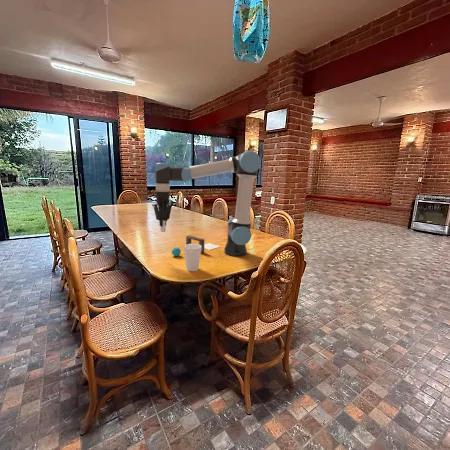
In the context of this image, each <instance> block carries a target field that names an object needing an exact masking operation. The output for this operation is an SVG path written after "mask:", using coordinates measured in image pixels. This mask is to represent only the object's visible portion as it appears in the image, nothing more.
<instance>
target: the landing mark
mask: <svg viewBox="0 0 450 450" xmlns="http://www.w3.org/2000/svg"><path fill="white" fill-rule="evenodd" d="M221 247H222V246H221V245H217V244H213V243H210V242H209V243H204V250H208V251H212V250H215V249H218V248H221Z"/></svg>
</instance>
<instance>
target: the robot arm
mask: <svg viewBox="0 0 450 450" xmlns="http://www.w3.org/2000/svg"><path fill="white" fill-rule="evenodd" d="M261 163H262V162H261V157H260V155H259V154H258V153H257V152H256V151H254V150H253V151H252V150H246V151H244V152H242V153H240V154H238V155H236V156H231V157H229V159H224V160H218V161H214V162H207V163H203V164H202V163H201V164H197V165H192V166H186V167H185V166H184V167H175V166H174V167H173V166H170V163H168V162H157V163H156V164H155V171H154V172H155V198H156V200H155V201H154V203H152V204H151V206H152V207H153V210H154V216H155V219H156V221H157V220H158V221H159V227H160V232H161V233H166V227H167V222H168V220H169V219H170V217H171V212H172V207H173V205H174V203H173V202H171V201H170V190H171V189H170V188H171V185H170V184H171V183H170V182H190V181H192V180H194V179H198V178H204V177H208V176H209V177H210V176H215V175H220V174H226V173H233V174H234V173H235V174H236V176H237V177H238V186H237V192H236V194H237V195H236V205H235V211H234V212H235V213H234V218H229V219H228V220H227V241H226V243H225V247H224V251H223V253H224V254H225V255H227V256H232V257H243V256H246V255H247V253H248V249H247V246H246V244H248V243H249V242H250V241H251V240H252V239H251V238H252V232H251V229H252V228H251V227H252V222H251V221H250V213H251V208H252V207H251V206H252V197H253V192H254V191H253V190H254V184H255V182H254V181H255V179H256V178H257V177H258V171H259V168H260V166H261Z"/></svg>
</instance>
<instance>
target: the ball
mask: <svg viewBox="0 0 450 450" xmlns="http://www.w3.org/2000/svg"><path fill="white" fill-rule="evenodd" d="M171 254H172V255H173V256H174V257H179V256H180V255H181V249H180V248H179V247H176V246H175V247H174V248H173V249H172V250H171Z"/></svg>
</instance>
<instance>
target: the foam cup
mask: <svg viewBox="0 0 450 450" xmlns="http://www.w3.org/2000/svg"><path fill="white" fill-rule="evenodd" d="M201 251H202V246H201V245H199V243H198V244H197V243H191V244H187V245H186V244H185V245H183V253H184V260H185V267H186V271H188V272H197V271H198V270H199V267H200V260H201V254H202V253H201Z"/></svg>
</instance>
